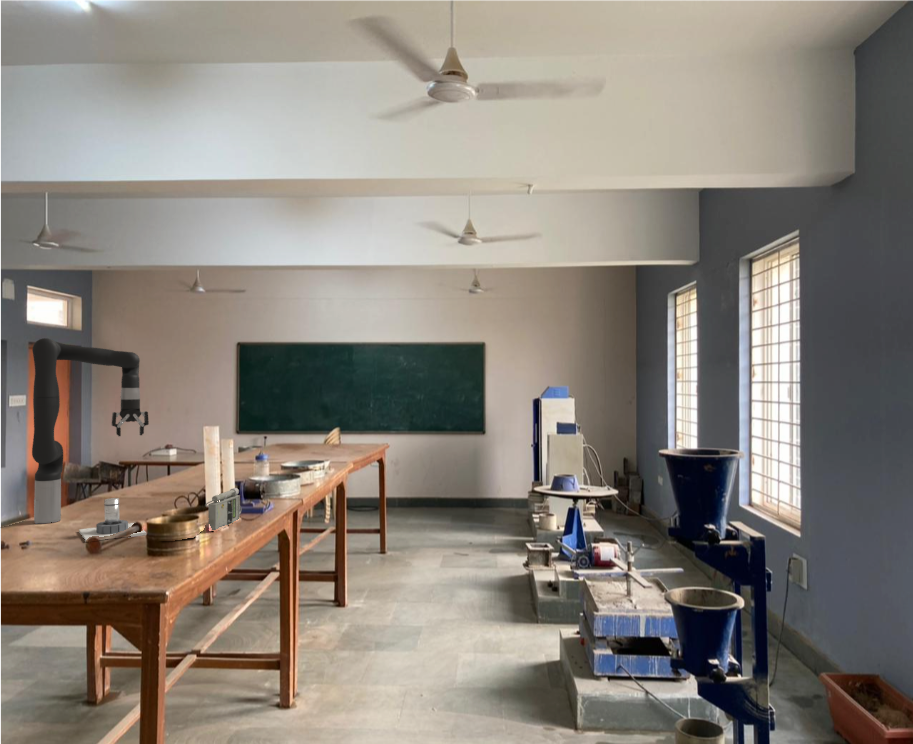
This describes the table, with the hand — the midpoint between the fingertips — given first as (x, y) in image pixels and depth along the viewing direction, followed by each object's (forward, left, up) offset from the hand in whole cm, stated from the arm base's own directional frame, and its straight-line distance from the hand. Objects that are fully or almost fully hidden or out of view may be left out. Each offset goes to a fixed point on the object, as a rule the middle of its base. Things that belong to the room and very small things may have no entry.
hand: (130, 435), depth 289 cm
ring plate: (-12, -33, -34) cm, 49 cm away
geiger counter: (+28, -43, -34) cm, 62 cm away
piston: (-12, -33, -33) cm, 48 cm away
